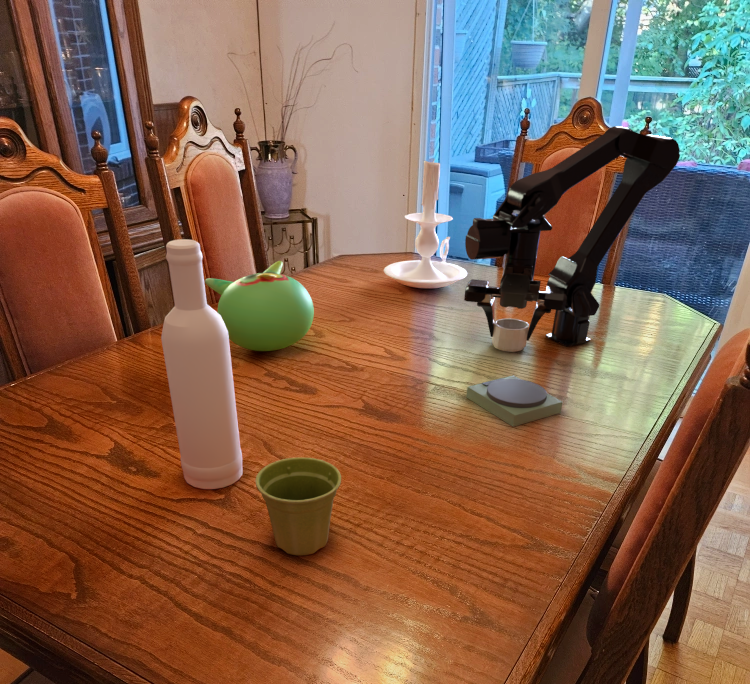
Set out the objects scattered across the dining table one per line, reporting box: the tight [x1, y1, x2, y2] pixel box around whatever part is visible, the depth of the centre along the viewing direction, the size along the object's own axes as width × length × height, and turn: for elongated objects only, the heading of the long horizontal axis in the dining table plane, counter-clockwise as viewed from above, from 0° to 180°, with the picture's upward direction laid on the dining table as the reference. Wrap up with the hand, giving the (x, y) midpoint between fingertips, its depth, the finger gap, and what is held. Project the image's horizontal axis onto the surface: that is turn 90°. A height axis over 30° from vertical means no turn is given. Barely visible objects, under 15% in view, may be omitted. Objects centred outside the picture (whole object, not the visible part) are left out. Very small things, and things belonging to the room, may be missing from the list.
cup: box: [491, 317, 530, 353], centre depth 130 cm, size 7×7×4 cm
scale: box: [465, 374, 563, 428], centre depth 109 cm, size 12×10×3 cm
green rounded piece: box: [204, 260, 315, 352], centre depth 125 cm, size 18×17×15 cm
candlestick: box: [383, 158, 468, 289], centre depth 160 cm, size 21×25×28 cm
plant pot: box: [255, 456, 342, 556], centre depth 76 cm, size 9×9×9 cm
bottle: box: [160, 238, 244, 490], centre depth 81 cm, size 8×8×30 cm
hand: (509, 338), depth 131 cm, fingers closed on cup, 7 cm apart
